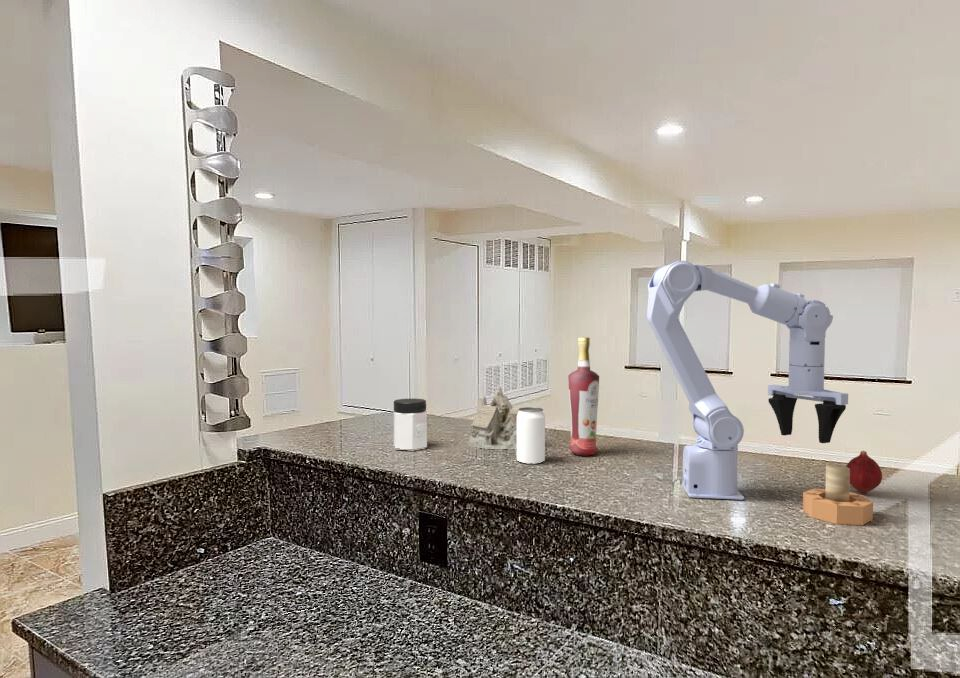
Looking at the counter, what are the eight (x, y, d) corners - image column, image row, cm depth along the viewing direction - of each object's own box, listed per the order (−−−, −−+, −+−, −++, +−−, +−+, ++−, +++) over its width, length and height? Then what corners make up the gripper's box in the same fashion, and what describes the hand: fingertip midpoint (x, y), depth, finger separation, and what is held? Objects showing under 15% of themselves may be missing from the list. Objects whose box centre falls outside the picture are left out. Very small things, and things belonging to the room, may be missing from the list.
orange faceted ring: (818, 523, 94) (818, 504, 94) (796, 504, 103) (797, 487, 103) (881, 526, 93) (881, 507, 92) (853, 507, 102) (854, 490, 102)
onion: (887, 499, 106) (888, 455, 106) (852, 497, 107) (853, 454, 107) (872, 490, 112) (874, 448, 112) (839, 488, 113) (840, 447, 113)
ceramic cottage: (458, 443, 152) (462, 386, 151) (506, 438, 162) (510, 384, 161) (497, 459, 140) (502, 396, 139) (546, 451, 150) (551, 393, 149)
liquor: (584, 459, 136) (585, 338, 135) (561, 453, 142) (562, 337, 141) (605, 454, 141) (606, 337, 140) (581, 449, 146) (582, 336, 145)
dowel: (830, 518, 96) (831, 470, 96) (821, 511, 100) (822, 464, 99) (852, 519, 96) (853, 470, 95) (843, 511, 99) (844, 465, 99)
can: (512, 463, 133) (512, 410, 132) (521, 456, 139) (521, 406, 138) (540, 466, 130) (540, 412, 130) (548, 459, 136) (548, 407, 136)
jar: (405, 453, 142) (405, 404, 142) (386, 448, 148) (385, 400, 147) (434, 447, 148) (434, 400, 148) (414, 442, 154) (414, 397, 154)
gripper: (859, 367, 104) (857, 444, 104) (785, 361, 117) (784, 429, 117) (834, 369, 101) (832, 448, 101) (760, 363, 114) (759, 432, 114)
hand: (804, 438), depth 109 cm, fingers open, 7 cm apart
